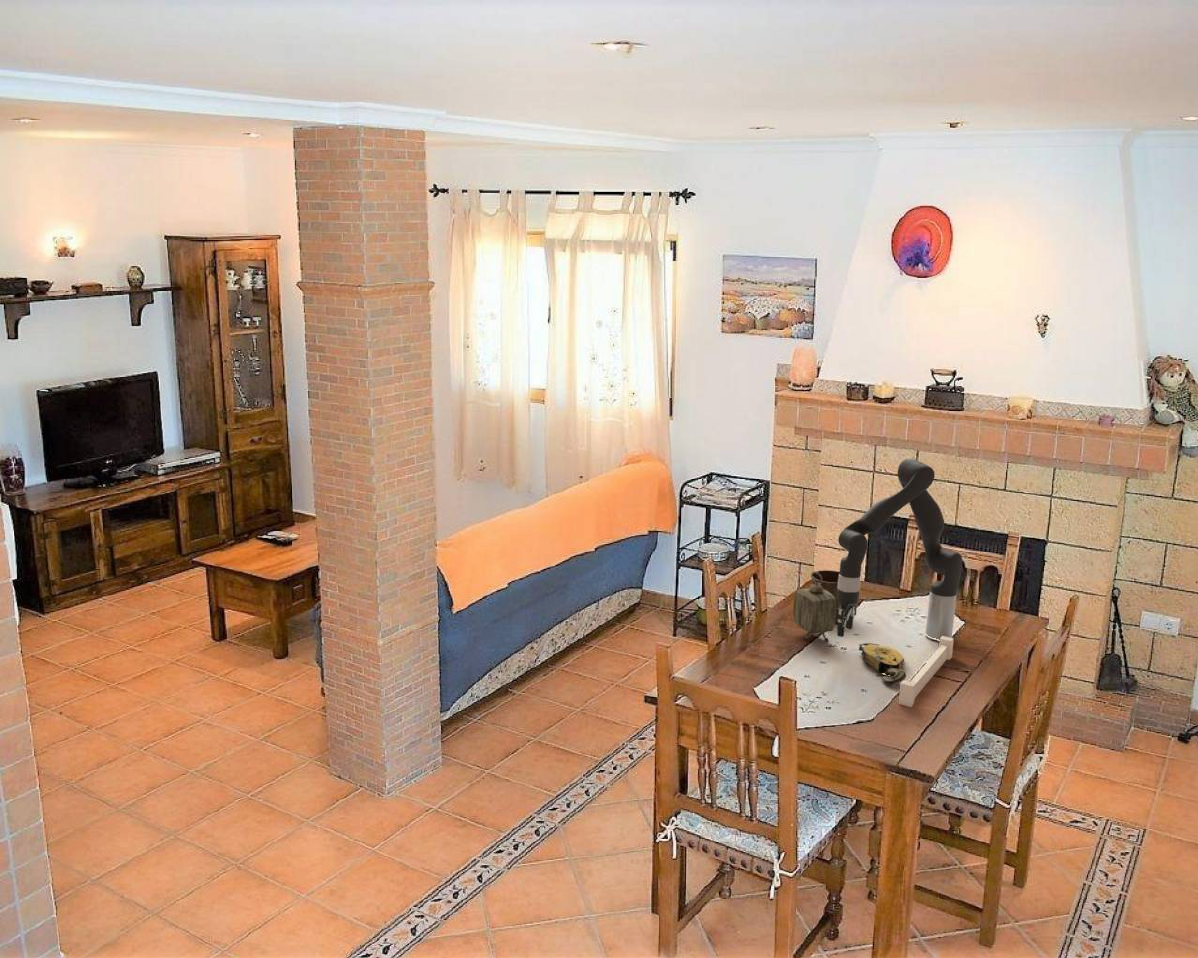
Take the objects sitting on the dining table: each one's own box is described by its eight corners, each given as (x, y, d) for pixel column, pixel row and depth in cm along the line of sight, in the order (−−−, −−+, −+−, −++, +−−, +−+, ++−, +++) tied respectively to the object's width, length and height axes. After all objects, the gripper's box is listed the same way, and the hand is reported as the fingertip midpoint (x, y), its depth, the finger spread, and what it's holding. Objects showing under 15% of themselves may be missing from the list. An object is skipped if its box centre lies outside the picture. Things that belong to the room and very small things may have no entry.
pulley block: (876, 669, 354) (858, 635, 383) (872, 685, 355) (855, 650, 384) (919, 677, 354) (898, 642, 383) (915, 693, 355) (894, 657, 384)
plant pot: (801, 610, 422) (804, 571, 418) (835, 607, 427) (839, 568, 423) (820, 624, 408) (823, 584, 405) (855, 621, 413) (859, 581, 409)
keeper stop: (940, 654, 383) (942, 635, 382) (951, 657, 381) (953, 638, 380) (898, 703, 344) (900, 683, 342) (911, 707, 342) (913, 686, 340)
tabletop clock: (833, 643, 391) (838, 577, 385) (811, 646, 387) (816, 580, 381) (811, 629, 404) (816, 565, 398) (790, 632, 400) (794, 567, 394)
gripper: (845, 580, 379) (841, 624, 383) (830, 590, 367) (826, 636, 371) (866, 584, 375) (862, 628, 379) (852, 595, 363) (848, 641, 367)
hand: (844, 632), depth 375 cm, fingers open, 8 cm apart
